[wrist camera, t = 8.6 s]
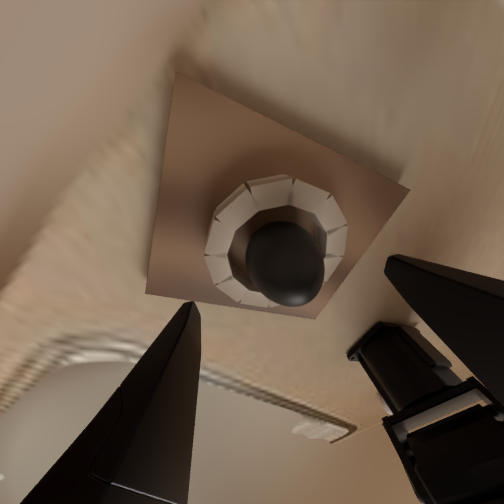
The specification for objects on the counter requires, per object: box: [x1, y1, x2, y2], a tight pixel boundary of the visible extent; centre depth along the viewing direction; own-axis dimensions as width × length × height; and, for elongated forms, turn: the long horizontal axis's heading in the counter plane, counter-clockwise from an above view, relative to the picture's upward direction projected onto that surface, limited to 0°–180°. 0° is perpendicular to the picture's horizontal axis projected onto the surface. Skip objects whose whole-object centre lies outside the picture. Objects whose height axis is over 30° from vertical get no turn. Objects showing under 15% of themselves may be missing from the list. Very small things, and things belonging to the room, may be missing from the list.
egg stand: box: [145, 71, 410, 319], centre depth 12 cm, size 12×14×2 cm
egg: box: [245, 221, 325, 307], centre depth 10 cm, size 4×4×5 cm
